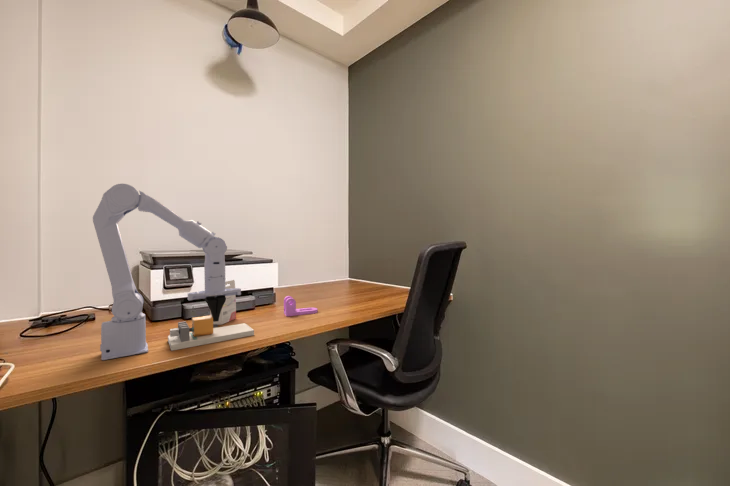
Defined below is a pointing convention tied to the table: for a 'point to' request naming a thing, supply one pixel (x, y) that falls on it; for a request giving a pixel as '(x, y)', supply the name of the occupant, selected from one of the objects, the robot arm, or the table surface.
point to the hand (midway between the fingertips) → (215, 320)
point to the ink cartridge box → (227, 306)
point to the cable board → (185, 338)
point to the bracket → (291, 308)
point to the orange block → (202, 325)
